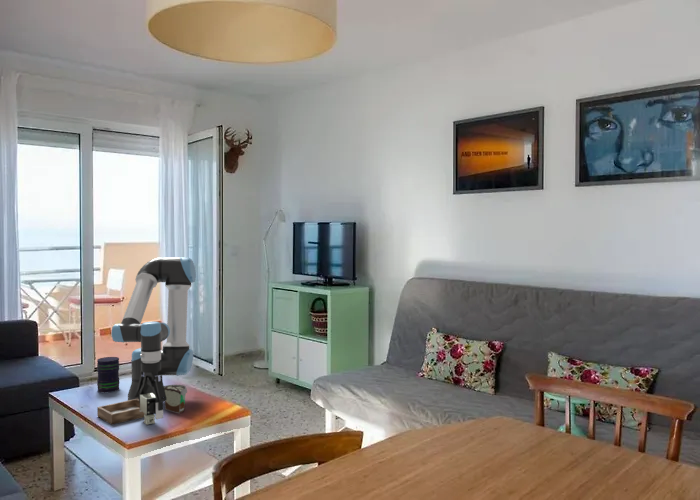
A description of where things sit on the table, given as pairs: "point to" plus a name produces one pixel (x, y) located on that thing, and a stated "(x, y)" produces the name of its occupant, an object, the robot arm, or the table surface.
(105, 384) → the storage jar
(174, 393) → the food container
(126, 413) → the walnut box
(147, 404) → the pneumatic valve
